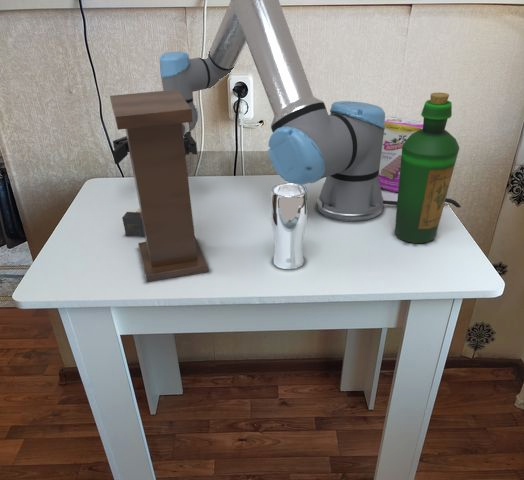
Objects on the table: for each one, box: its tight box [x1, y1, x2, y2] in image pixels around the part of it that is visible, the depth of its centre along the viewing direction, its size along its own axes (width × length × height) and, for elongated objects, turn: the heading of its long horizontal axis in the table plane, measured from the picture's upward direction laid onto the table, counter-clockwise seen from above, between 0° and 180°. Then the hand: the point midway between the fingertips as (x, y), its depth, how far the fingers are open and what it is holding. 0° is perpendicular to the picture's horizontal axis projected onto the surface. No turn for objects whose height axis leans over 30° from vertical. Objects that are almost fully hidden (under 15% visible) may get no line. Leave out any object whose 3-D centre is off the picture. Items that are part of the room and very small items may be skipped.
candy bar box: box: [378, 115, 423, 194], centre depth 126 cm, size 11×5×16 cm, turn 58°
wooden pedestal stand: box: [109, 90, 209, 283], centre depth 96 cm, size 14×12×30 cm
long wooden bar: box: [121, 207, 145, 238], centre depth 121 cm, size 22×4×4 cm, turn 171°
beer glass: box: [270, 182, 309, 270], centre depth 99 cm, size 7×7×15 cm
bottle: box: [394, 91, 460, 244], centre depth 103 cm, size 11×11×28 cm
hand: (144, 158), depth 115 cm, fingers open, 13 cm apart
